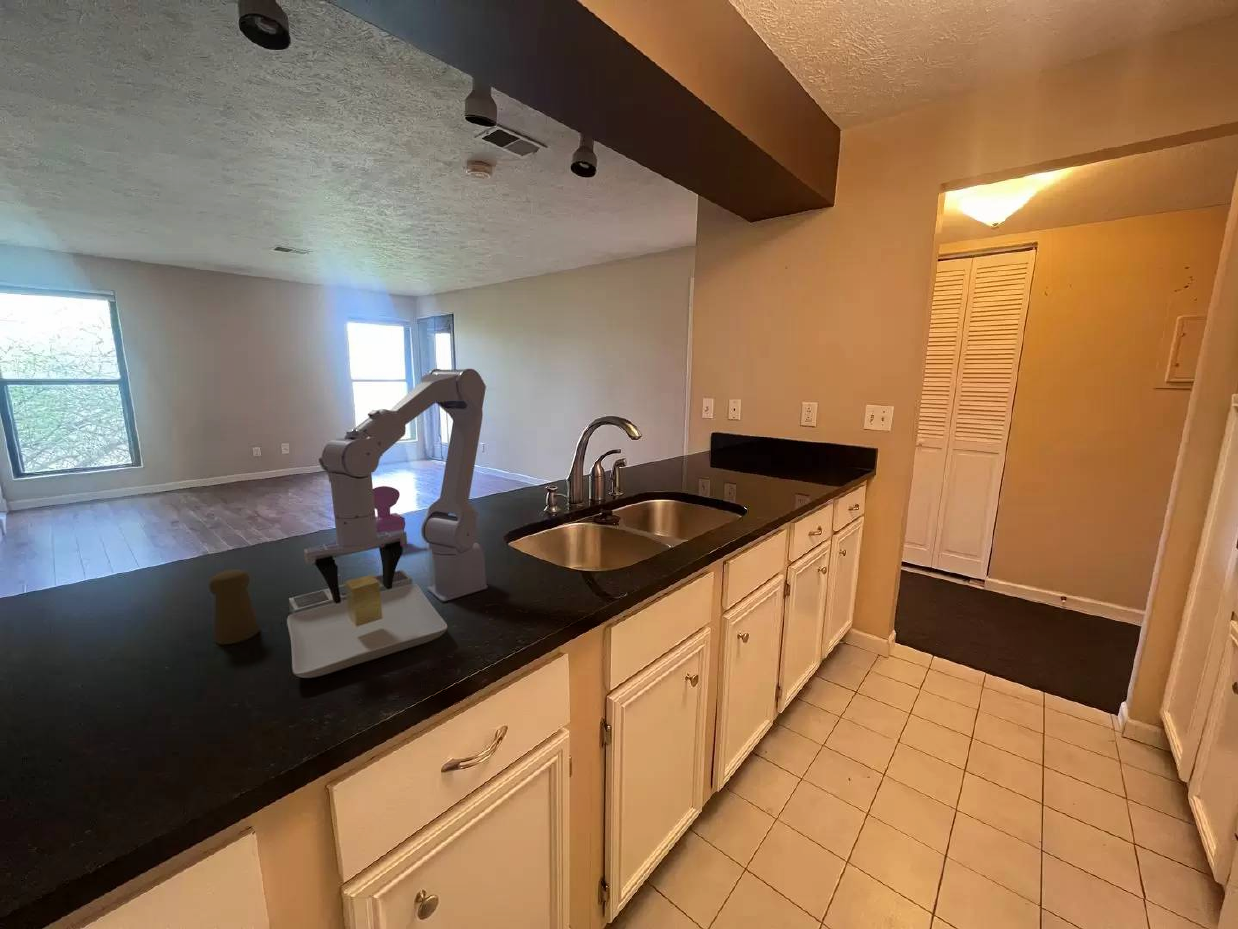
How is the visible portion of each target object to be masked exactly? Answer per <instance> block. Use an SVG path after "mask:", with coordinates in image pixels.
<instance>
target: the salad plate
mask: <svg viewBox="0 0 1238 929" xmlns="http://www.w3.org/2000/svg"><path fill="white" fill-rule="evenodd" d="M380 596H381V606H382V617H383V619H380V620H377V621H374V622H370V623H367V624H364V625H361V626H358V627H356V626H355V625H354V623H353V622H352V621H351V619H350V618H349V609H348V600H345V601H342V602H341V603H337V604H336V603H334V604H330V605H326V606H322V607H318V608H314V609H310V610H306V611H302V612H298V613H295V614H292V613H291V614H289V615H288V616H287V618H286V625H287V628H288V633H289V638H290V647H291V648H290V649H291V650H290V651H291V668H292V670H291V671H292V672H293V675H295V676H296V677H298V678H303V679H304V678H305V679H311V678H316V677H322V676H324V675H328V674H332V673H334V672H338V671H341V670H343V669H347V668H350V667H353V666H356V665H359V664H362V663H367V662H369V661H371V660H375V659H378V658H381V657H384V656H385V657H386V656H387V655H392V654H394V653H398V652H400V651H405V650H407V649H410V648H413V647H416V646H420V645H422V644H427V643H429V642H431V641H434V640H436V639H438V638H439V637H441V636H442V635H443V634H445V632H447V630H448V628H449V626H448V624H447V623H446V621H445V620H444V618H443V617H442V615H440V614H439V613H438V611H437V610H436V608H435V607H434V606H433V605H432V603H431V602H430V600H429V598H428V597H426V595H425V593H424V592H423V590H422V588H421V587H420V585H418V584H417V583H412V584H410V585H406V586H402V587H398V588H394V589H390V590H386V591H382V592H380Z"/></svg>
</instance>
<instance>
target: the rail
mask: <svg viewBox="0 0 1238 929" xmlns="http://www.w3.org/2000/svg"><path fill="white" fill-rule="evenodd" d="M374 577H375V578H376V579H377V580H378V581H379V586H380V592H382V591H386V590H390V589H387V588H386V587H385V586H384V583H383V574H379V575H376V576H374ZM410 584H413V578H412V577H411V576H410V575H409V574H408V573H407V572H405V571H404V570H403V569H400V570H395V573H394V577H393V582H392V589H394V588H398V587H402V586H406V585H410ZM338 586H339V591H340V596H341V602H342V601H345V600H347V591H346V583H344V584H341V585H338ZM288 603H289V610H290V613H291V614H295V613H298V612H302V611H306V610H310V609H314V608H318V607H322V606H326V605H330V604H334V603H335V602H334V601H333V598H332V594H331V591H330V589H329V587H328V588H324V589H321V590H317V591H313V592H309V593H305V594H301V595H297V596H294V597H290V598H288Z"/></svg>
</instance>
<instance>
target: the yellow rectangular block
mask: <svg viewBox="0 0 1238 929" xmlns="http://www.w3.org/2000/svg"><path fill="white" fill-rule="evenodd" d="M345 584H346V591H347V600H348V609H349V618H350V619H351V621H352V622H353V623H354V625H355V626H356V627H358V626H361V625H364V624H367V623H370V622H374V621H377V620H380V619H383V617H382V606H381V596H380V586H379V581H378V580H377V579H376V578H375V576H374V575H373V574H369V575H366V576H365V575H364V576H361V577H358V578H352V579H350V580H345Z"/></svg>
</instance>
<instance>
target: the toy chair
mask: <svg viewBox="0 0 1238 929" xmlns="http://www.w3.org/2000/svg"><path fill="white" fill-rule="evenodd" d="M373 495H374V506H375V510H376V514H377V516H376V515H375V516H376V527H377V533H381V532H390V531H397V530H404V531H405V527H406V520H405V517H404V516H401V515H400V514H399V513H396V512H392V513H391V508H392V507H393V506H396V504H397V502H398V500H399V498H400V491H399V490H398V489H396V488H394V487H392V486H387V485H382V486H376V487H374V488H373ZM400 546H402V547H403V548H406V547H408V545H407V543H404V544H400ZM405 546H406V547H405Z"/></svg>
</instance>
